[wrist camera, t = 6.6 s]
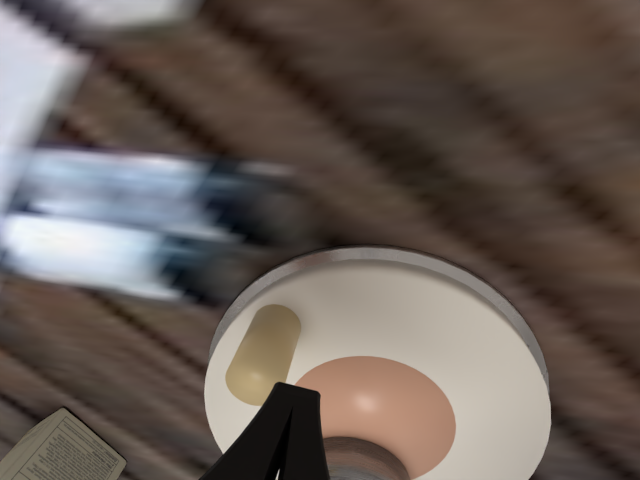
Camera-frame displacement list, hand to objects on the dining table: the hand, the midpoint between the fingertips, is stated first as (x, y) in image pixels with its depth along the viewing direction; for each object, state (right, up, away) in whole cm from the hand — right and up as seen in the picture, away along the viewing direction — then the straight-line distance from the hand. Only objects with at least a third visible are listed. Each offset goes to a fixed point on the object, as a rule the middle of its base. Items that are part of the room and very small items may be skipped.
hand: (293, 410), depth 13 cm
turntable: (+4, -4, +11) cm, 12 cm away
